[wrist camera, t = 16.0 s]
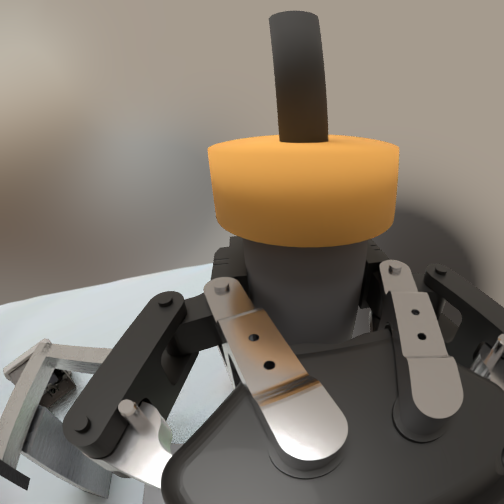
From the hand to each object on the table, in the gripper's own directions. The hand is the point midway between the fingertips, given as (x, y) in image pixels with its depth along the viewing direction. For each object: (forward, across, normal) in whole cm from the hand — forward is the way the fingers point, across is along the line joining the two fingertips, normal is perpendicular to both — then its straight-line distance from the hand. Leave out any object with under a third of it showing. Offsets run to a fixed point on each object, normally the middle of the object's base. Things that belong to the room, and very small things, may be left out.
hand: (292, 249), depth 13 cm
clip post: (-7, +21, +23) cm, 32 cm away
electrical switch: (+5, +32, +23) cm, 40 cm away
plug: (-3, 0, +6) cm, 7 cm away
